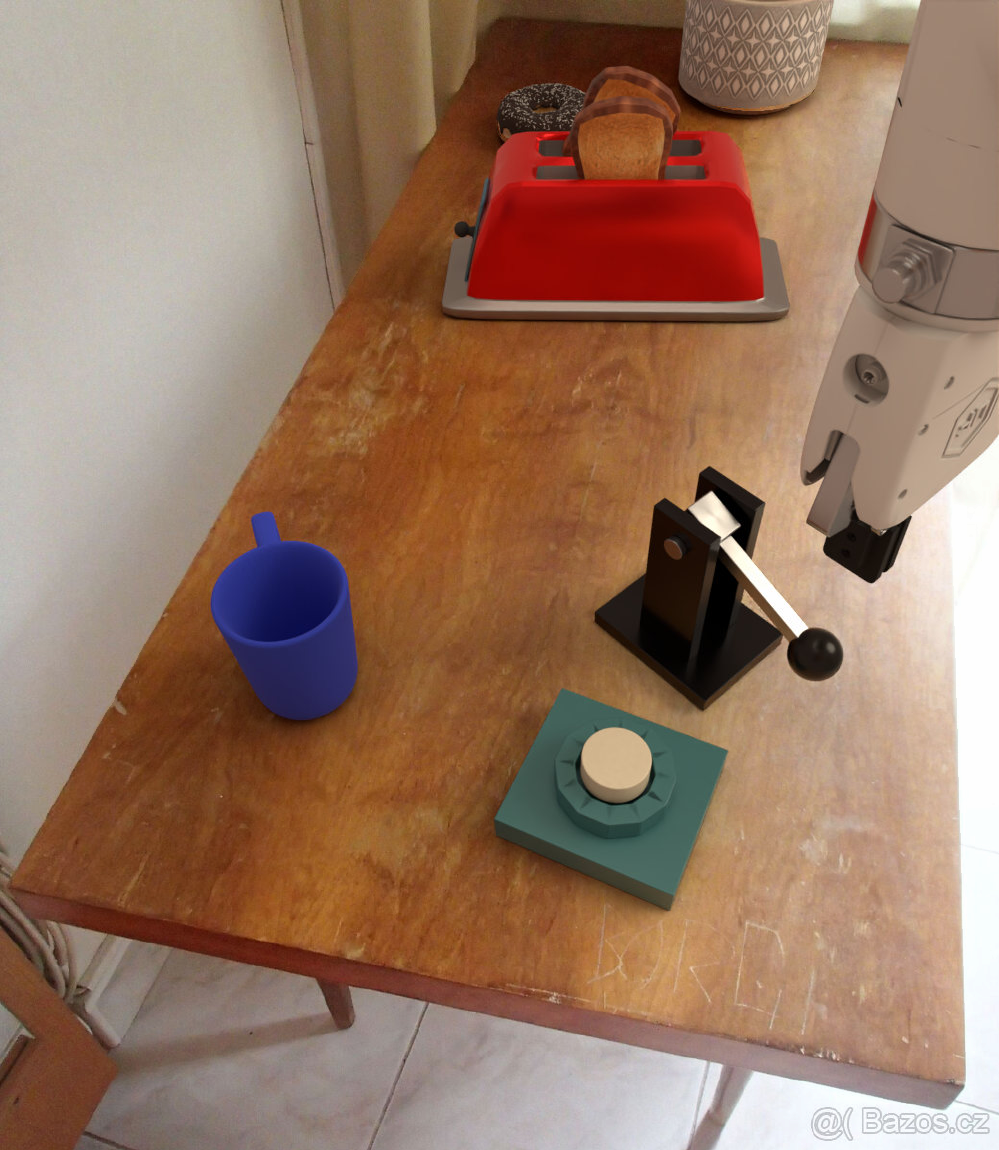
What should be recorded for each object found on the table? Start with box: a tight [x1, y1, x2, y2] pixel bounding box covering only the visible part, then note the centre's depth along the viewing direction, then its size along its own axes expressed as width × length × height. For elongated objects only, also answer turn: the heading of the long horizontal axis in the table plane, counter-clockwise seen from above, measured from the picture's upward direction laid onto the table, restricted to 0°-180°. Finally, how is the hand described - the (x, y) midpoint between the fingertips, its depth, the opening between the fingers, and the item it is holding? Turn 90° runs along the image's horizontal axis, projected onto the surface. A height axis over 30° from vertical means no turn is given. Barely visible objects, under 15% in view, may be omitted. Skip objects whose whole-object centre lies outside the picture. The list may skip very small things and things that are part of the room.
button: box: [581, 727, 652, 803], centre depth 57 cm, size 4×4×2 cm
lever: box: [684, 491, 845, 683], centre depth 59 cm, size 13×3×3 cm, turn 41°
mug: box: [210, 511, 359, 721], centre depth 64 cm, size 8×12×10 cm
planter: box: [677, 0, 835, 116], centre depth 115 cm, size 16×16×13 cm
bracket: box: [593, 465, 784, 712], centre depth 63 cm, size 10×8×13 cm
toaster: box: [441, 65, 791, 322], centre depth 88 cm, size 32×13×19 cm, turn 86°
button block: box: [493, 687, 729, 911], centre depth 59 cm, size 11×10×4 cm
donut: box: [495, 82, 586, 143], centre depth 113 cm, size 11×12×4 cm
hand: (856, 560), depth 51 cm, fingers closed
